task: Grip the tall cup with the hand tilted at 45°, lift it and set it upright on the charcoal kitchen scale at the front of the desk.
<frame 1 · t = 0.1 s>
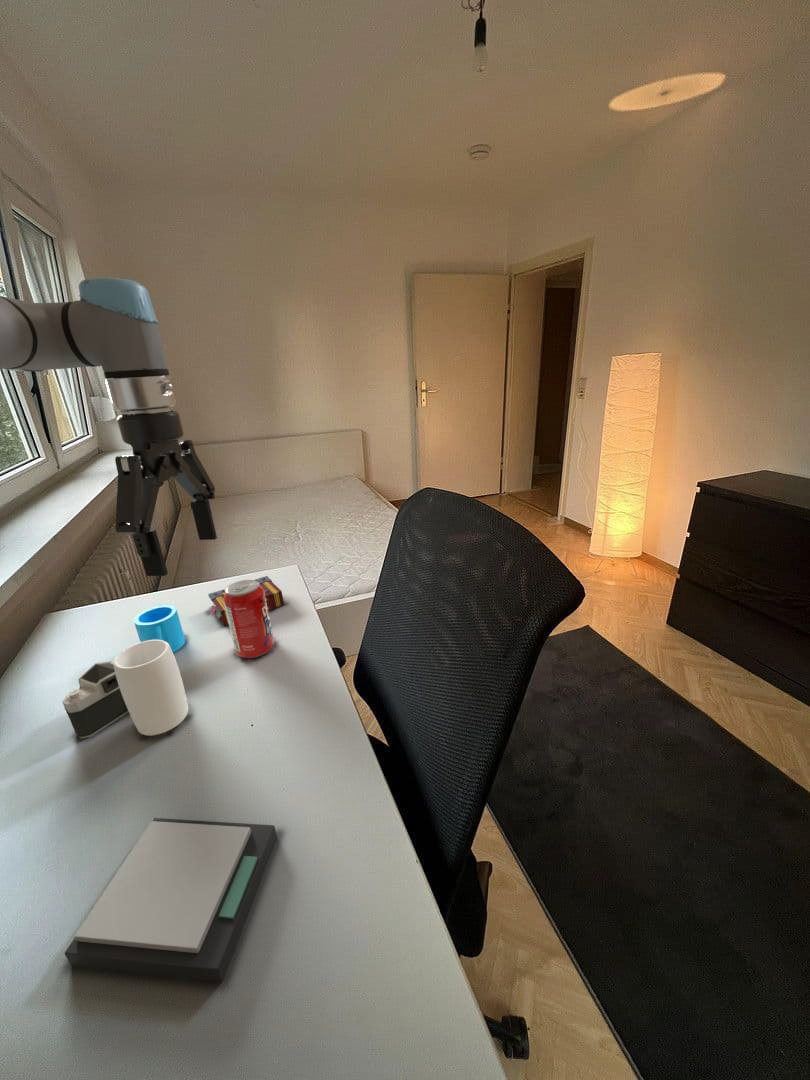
hand: (185, 555, 67), 29 cm above the table, tool pointing down, fingers open, 13 cm apart
mug: (165, 652, 95), on the table
scale: (186, 895, 49), on the table
soda can: (256, 650, 94), on the table
cup: (165, 724, 75), on the table
decorative book: (246, 609, 110), on the table
camera: (122, 705, 80), on the table
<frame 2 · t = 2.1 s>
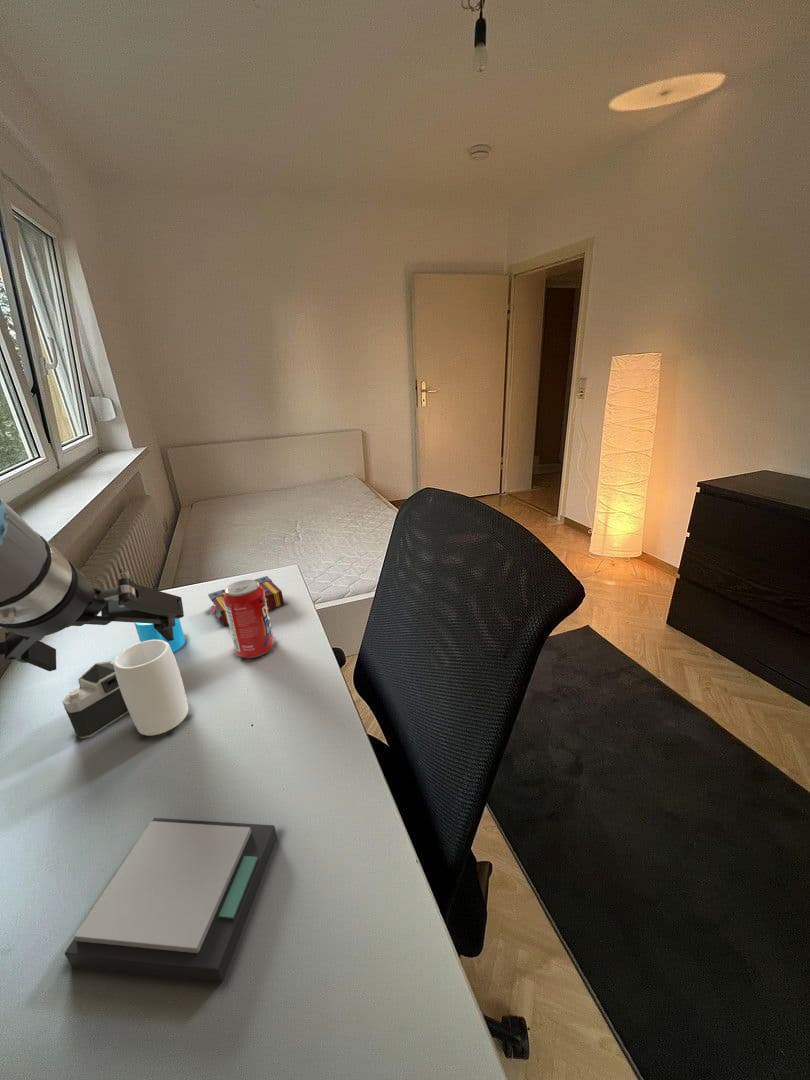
hand: (113, 645, 58), 22 cm above the table, tool tilted 45°, fingers open, 13 cm apart
nothing on the table moved.
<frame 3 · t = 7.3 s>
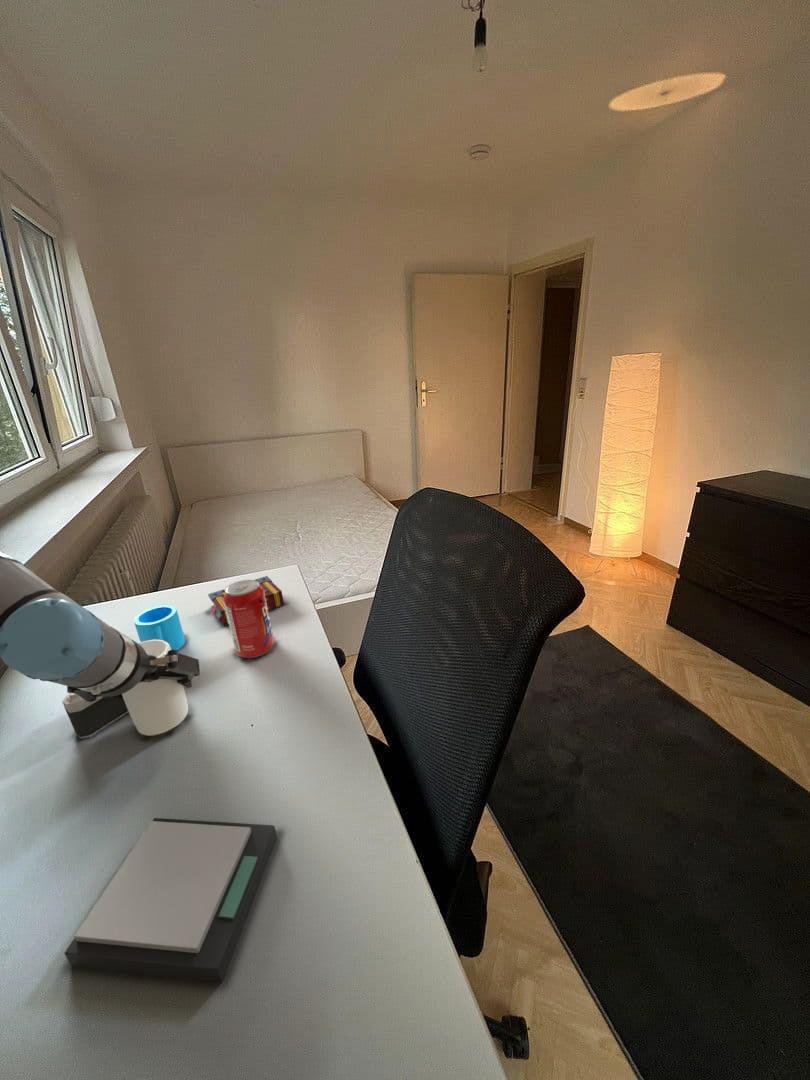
hand: (160, 686, 76), 5 cm above the table, tool tilted 45°, fingers closed on cup, 8 cm apart
cup: (165, 724, 75), on the table, touching gripper
everything else where it was.
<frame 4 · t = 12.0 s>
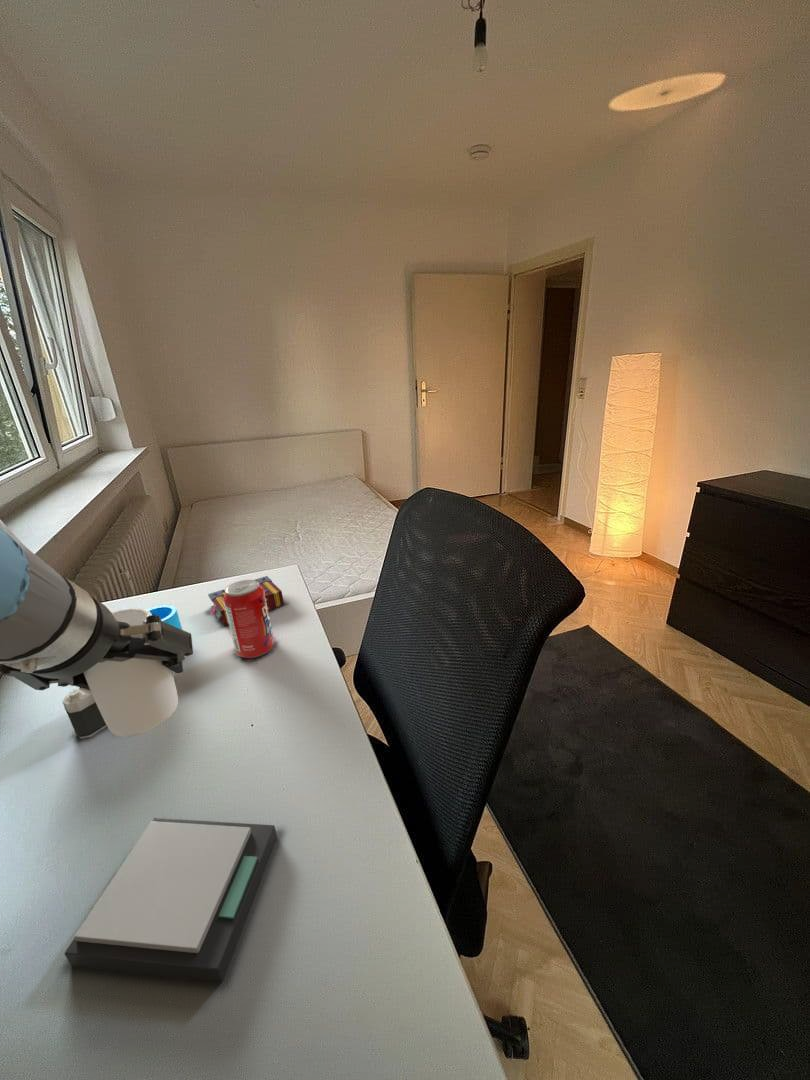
hand: (141, 671, 57), 19 cm above the table, tool tilted 45°, fingers closed on cup, 8 cm apart
cup: (147, 721, 56), point 14 cm above the table, touching gripper
everything else where it was.
when the fingers open (8 cm above the table, at t = 17.1 s): cup stays where it is, resting on scale.
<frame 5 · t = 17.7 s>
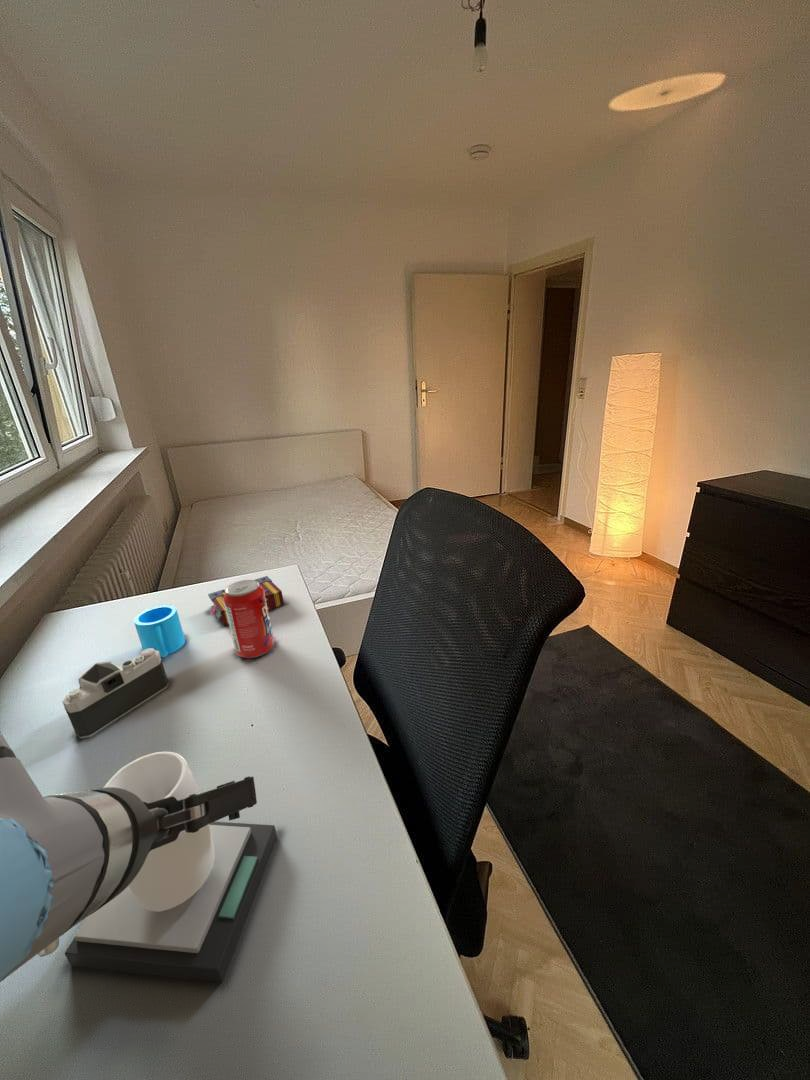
hand: (166, 815, 48), 10 cm above the table, tool tilted 45°, fingers open, 13 cm apart
cup: (179, 878, 48), point 3 cm above the table, touching scale
everything else where it was.
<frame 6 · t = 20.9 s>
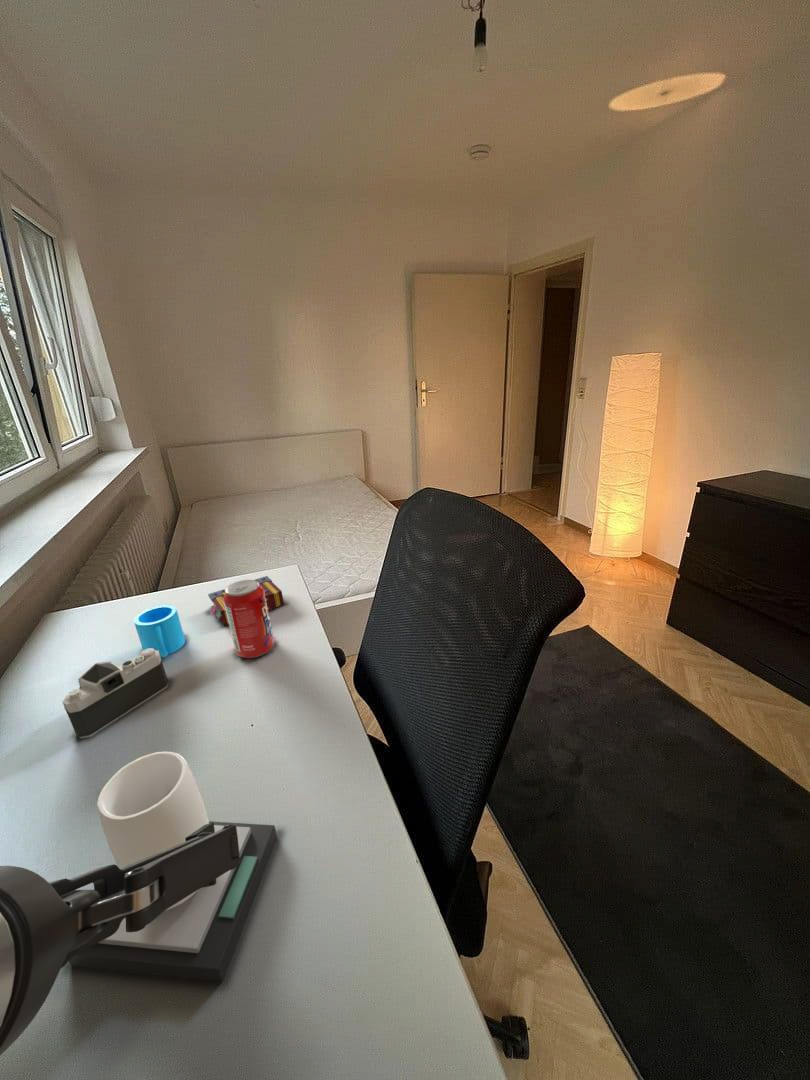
hand: (121, 871, 36), 17 cm above the table, tool tilted 45°, fingers open, 13 cm apart
nothing on the table moved.
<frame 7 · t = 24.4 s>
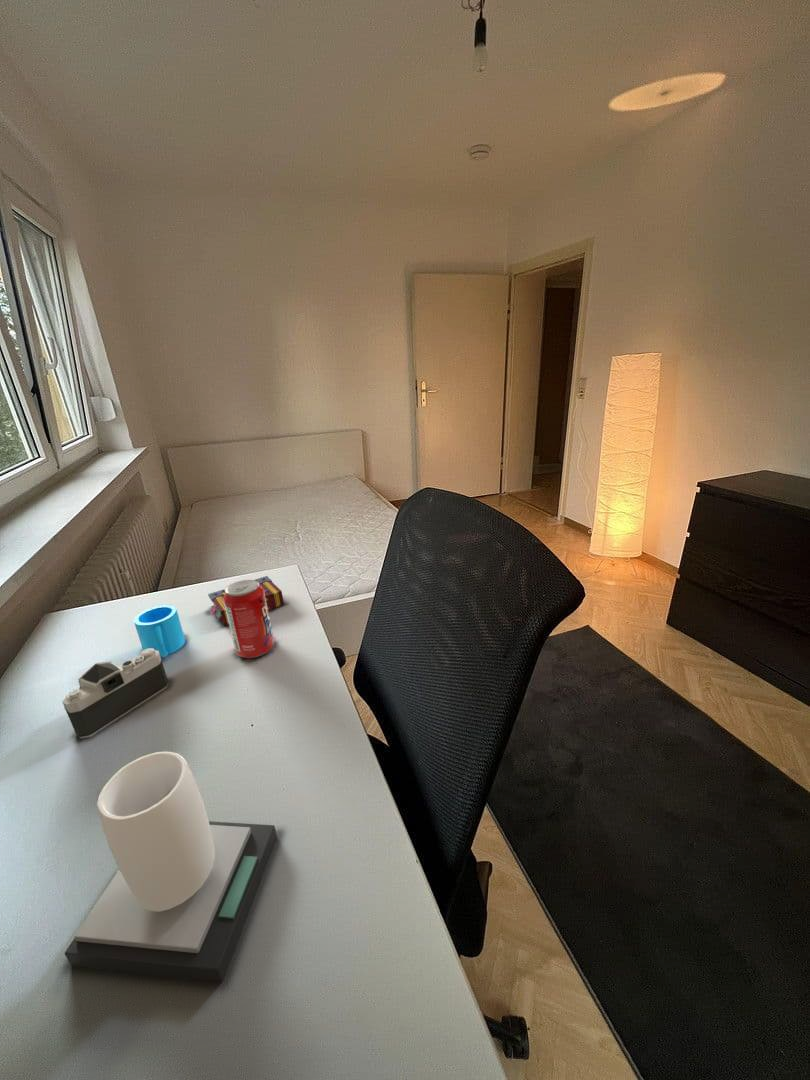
nothing on the table moved.
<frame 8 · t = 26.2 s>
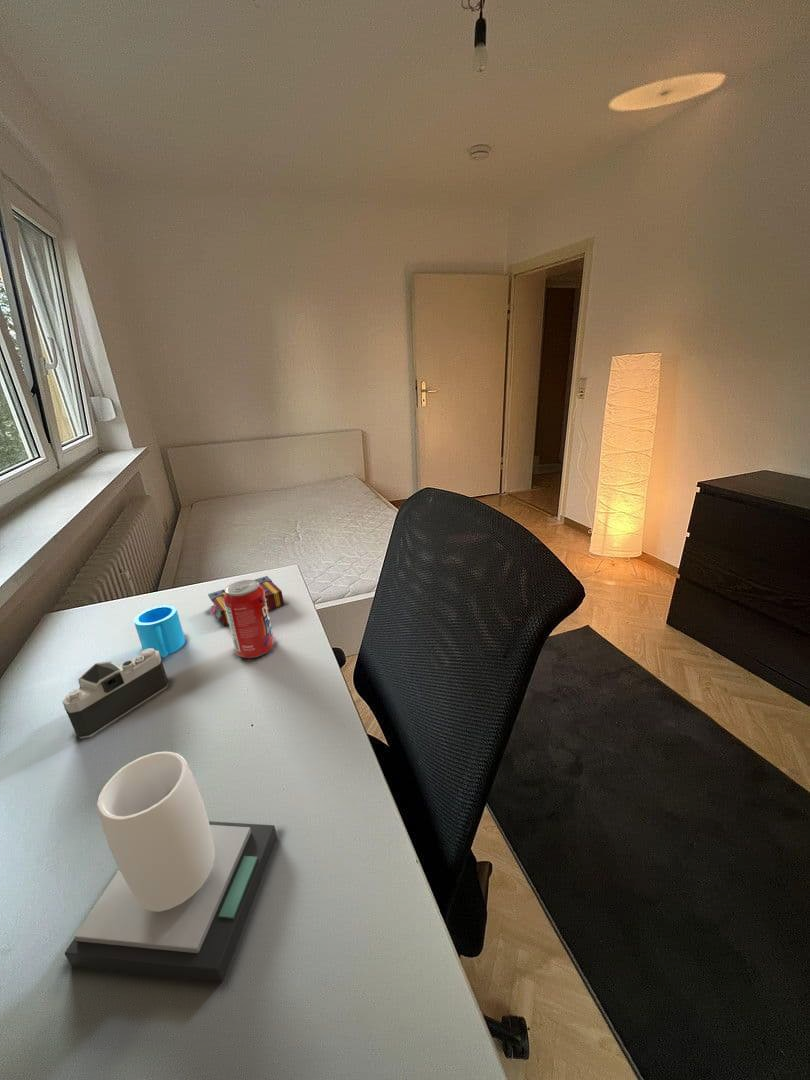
nothing on the table moved.
at the end: cup inside the target area on the scale (1.0 cm from its centre), point 3.0 cm above the scale's base; cup tilted 0°; the gripper is holding nothing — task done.
